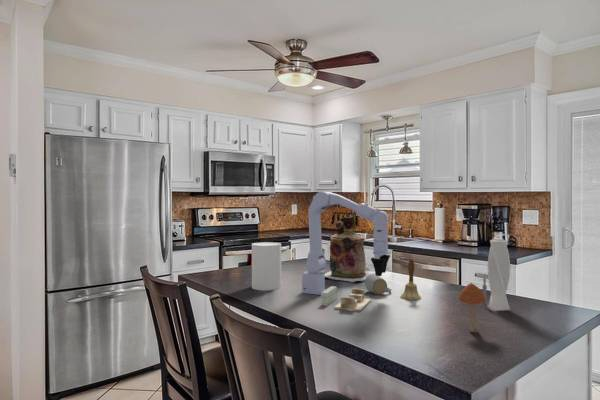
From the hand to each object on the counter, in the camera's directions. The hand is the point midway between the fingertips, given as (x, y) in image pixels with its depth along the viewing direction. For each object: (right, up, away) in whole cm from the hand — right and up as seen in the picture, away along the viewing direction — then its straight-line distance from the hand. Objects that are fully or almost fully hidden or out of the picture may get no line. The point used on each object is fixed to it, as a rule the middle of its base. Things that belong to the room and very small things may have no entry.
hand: (380, 274), depth 162 cm
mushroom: (+20, -11, -39) cm, 45 cm away
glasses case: (-21, -10, -4) cm, 24 cm away
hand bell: (+13, -10, +2) cm, 17 cm away
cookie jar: (-8, -10, +45) cm, 47 cm away
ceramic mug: (+1, -10, +10) cm, 15 cm away
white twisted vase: (+41, -11, -14) cm, 44 cm away
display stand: (-12, -10, -9) cm, 18 cm away
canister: (-48, -10, +22) cm, 54 cm away
